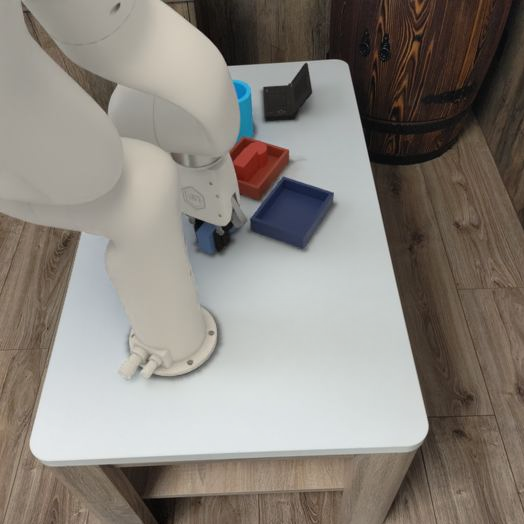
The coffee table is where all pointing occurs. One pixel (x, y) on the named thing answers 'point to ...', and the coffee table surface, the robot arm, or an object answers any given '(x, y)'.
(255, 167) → the red domed-end block
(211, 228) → the rounded-end blue block
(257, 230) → the blue tray
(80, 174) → the robot arm
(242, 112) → the mug
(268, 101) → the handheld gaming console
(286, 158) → the red tray
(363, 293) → the coffee table surface
